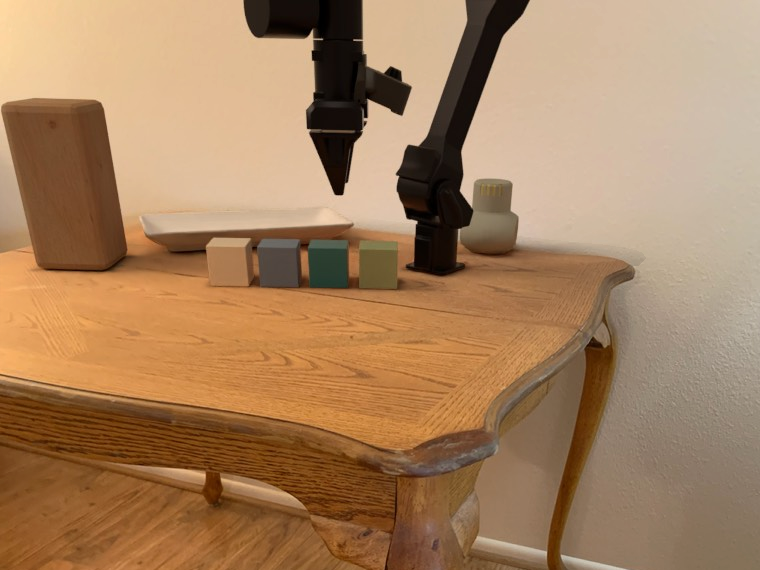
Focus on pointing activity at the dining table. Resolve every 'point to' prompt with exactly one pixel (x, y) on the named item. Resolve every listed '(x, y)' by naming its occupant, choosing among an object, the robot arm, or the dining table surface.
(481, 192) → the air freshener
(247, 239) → the cream block
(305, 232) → the tray
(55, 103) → the wooden block
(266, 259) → the slate block
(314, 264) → the teal block
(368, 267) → the sage block
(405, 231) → the dining table surface
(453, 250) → the robot arm
